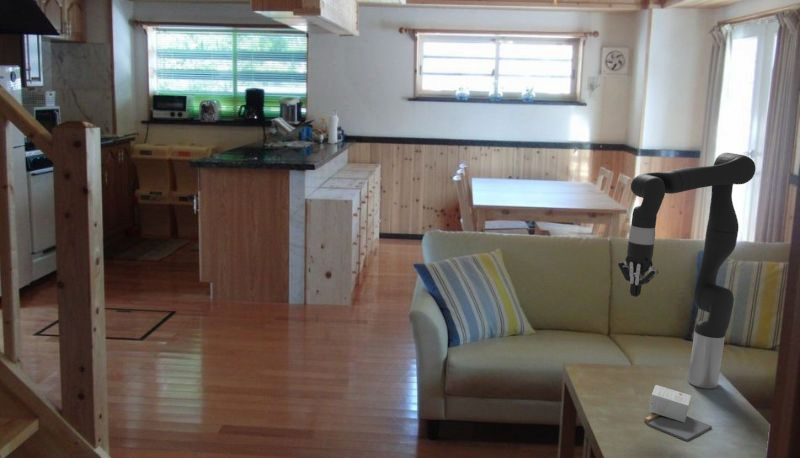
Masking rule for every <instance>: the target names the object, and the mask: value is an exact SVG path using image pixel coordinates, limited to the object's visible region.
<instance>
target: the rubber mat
mask: <svg viewBox="0 0 800 458" xmlns="http://www.w3.org/2000/svg"><path fill="white" fill-rule="evenodd" d="M647 426H649V427H652V428H654V429H657V430H659V431H661V432H663V433H665V434H668V435H671V436H673V437H675V438H679V439H681V440H682V441H686V442H688V441H690V440H692V439H694V438H695V437H697V436H699V435H701V434H703V433H706V432H707V431H709V430H710V429H712V427H713V426H712V425H710V424H708V423H705V422H703V421H700V420H698V419H695V418H692V417H690V416H687V417H686V420H685V423H684V422H681V421H678V420H674V419H671V418H668V417H665V416H661V417H659V418H657V419H655V420H653V421H651V422H649V423H647Z"/></svg>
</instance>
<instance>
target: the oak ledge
mask: <svg viewBox="0 0 800 458" xmlns="http://www.w3.org/2000/svg"><path fill="white" fill-rule="evenodd" d="M661 416H662V415H659V414H655V413H653V414H650V415H648V416H647V417H644V423H646V424H648V423H649V422H651V421H653V420H655V419H657V418H659V417H661Z"/></svg>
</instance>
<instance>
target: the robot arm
mask: <svg viewBox="0 0 800 458" xmlns="http://www.w3.org/2000/svg"><path fill="white" fill-rule="evenodd" d="M756 169H757V168H756V163H755V161H754V160H753V159H752V158H751V157H749V156H747V155H743V154H740V153H733V152H722V153H721V154H719V155H718V156H717V157H716V158H715V161H714V163H713V164H712V165H708V166H689V167H688V166H687V167H681V168H675V169H671V170H668V171H661V172H660V171H659V172H658V171H657V172H656V171H655V172H645V173H641V174H638V175H636V177H634V178H633V179H632V181H631V183H630V189H631V192H632V193H633V194H634V196H637V197H639V198H642V201H641V204H640V205H637V206H635V207H634V208H633V210H632V216H631V217H632V218H631V224H630V225H631V226H630V229H629V234H628V242H627V250H626V254H627V256H626V257H625V260H623V261H620V262H618V264H617V266H618V267H619V270H620V271H621V273H622V275H623V277H624V279H625V281H628V282H629V283H630V288H629V294H630V296H631V297H635V298H636V297H637V298H638V297H639V296H640V295H641V293H642V291H641V290H642V285H646V284H649V282H651V281H652V280H653V279H654V278H655V277H656V276H657V275H658V274H659V270H657V269H655V267H653V261H652V259H653V256H654V248H655V247H654V246H655V243H656V242H655V241H656V227H657V226H656V225H657V217H658V214H659V211H660V209H661V206H662V203H663V201H664V198H665V196H666V194H668V195H669V194H670V195H673V194H678V193H683V192H686V191H687V192H688V191H692V190H697V189H701V188H702V189H703V188H708V187H711V193H710V195H711V196H710V203H709V214H708V219H707V225H706V231H705V237H704V246H703V252H702V259H701V264H700V268H699V272H698V276H697V279H696V284H695V288H694V293H693V303H694V305H695V307H696V308H697V309H699V310H701V311H704V312H706V313H709V316H708V320H699V321H697V322H696V323H695V327H694V332H693V333H694V334H693V342H692V346H691V347H692V348H691V355H690V361H689V367H688V368H689V369H688V376H687V382H688V384H690V385H692V386H694V387H698V388H702V389H717V388H718V386H719V385H718V384H719V379H720V373H721V365H722V359H723V352H724V346H725V345H724V344H725V339H726V332H727V330H728V328H729V325H730V322H731V316H732V312H733V307H734V300H735V299H734V294H733V291H732V290H731V289H729V288H727V287H724V286H721V285H718V284H717V278H718V273H719V270H720V268H721V266H722V265H723V264H724V262H726V260H727V259H728V258H729V257H730V256H731V254H732V253H733V251H735V248H736V245H737V241H738V233H739V229H740V227H739V221H738V220H739V219H738V216H737V214H736V213H737V212H736V210H735V207H734V203H733V186H734V185H745V184H746V183H749V182H750V181H751V180H752V179H753V177H754V176H755V173H756Z"/></svg>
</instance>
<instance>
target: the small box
mask: <svg viewBox="0 0 800 458" xmlns="http://www.w3.org/2000/svg"><path fill="white" fill-rule="evenodd" d="M691 401H692V395H691V394H689V393H688V394H687V393H683V392H681V391H677V390H674V389H672V388H671V389H670V388H669V387H666V386H665V387H664V386H661V385H658V384H655V385H654V387H653V390H652V393H651V395H650V399H649V405H648V407H647V408H648V409H647V411H648V413H649V412H650V413H653V414H659V415H662V416H665V417H668V418H671V419H674V420H678V421H681V422H684V423H685V420H686V417H688V413H689V410H690V405H691Z"/></svg>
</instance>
